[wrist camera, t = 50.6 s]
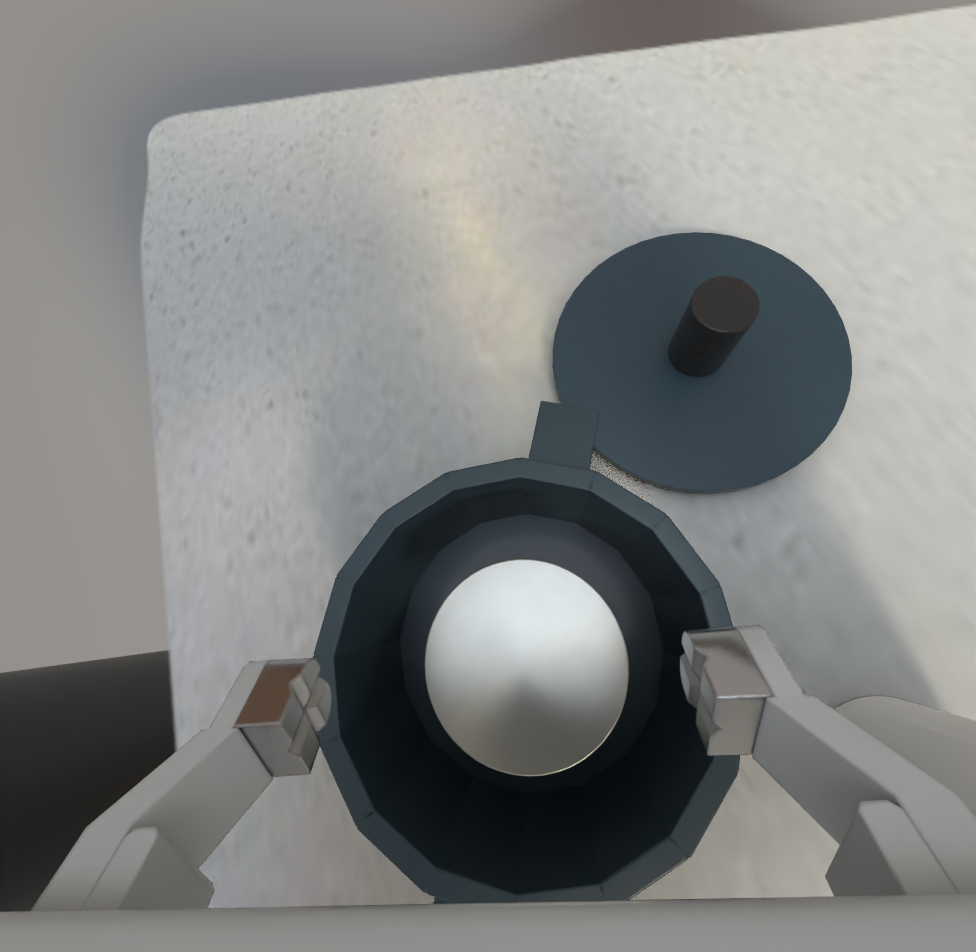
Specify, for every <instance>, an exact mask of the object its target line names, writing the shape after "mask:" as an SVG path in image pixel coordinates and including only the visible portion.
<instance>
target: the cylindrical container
mask: <svg viewBox="0 0 976 952" xmlns="http://www.w3.org/2000/svg"><path fill="white" fill-rule="evenodd" d="M834 710H835V711H837V712H838V713H840V714H841V715H843V716H844V717H846V718H847V719H849V720H850V721H851V722H853V723H854V724H856V725H857V726H859V727H860V728H862V729H863V730H865V731H866V732H867V733H869V734H870V735H872V736H873V737H875V738H876V739H878V740H879V741H881V742H882V743H883V744H885V745H886V746H888V747H889V748H891V749H892V750H894V751H895V752H897V753H898V754H899V755H901V756H902V757H904V758H905V759H907V760H908V761H910V762H911V763H913V764H914V765H915V766H917V767H918V768H920V769H921V770H923V771H924V772H926V773H927V774H929V775H930V776H931V777H933V778H934V779H936V780H937V781H939V782H940V783H942V784H943V785H945V786H946V787H947V788H949V789H950V790H952V791H953V792H955V793H956V794H958V795H959V796H960V797H961V799H962V800H963V801H964V803H965V804H966V805H967V807H968V808H969V809H970V811H971V812H972V813H973V815H974V816H975V817H976V721H974V720H971V719H967V718H964V717H960V716H957V715H953V714H950V713H946V712H943V711H939V710H936V709H932V708H929V707H925V706H922V705H918V704H915V703H911V702H908V701H904V700H901V699H897V698H893V697H884V696H870V697H861V698H857V699H854V700H851V701H848V702H846V703H844V704H842V705H840V706H838V707H837V708H835V709H834Z"/></svg>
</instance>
